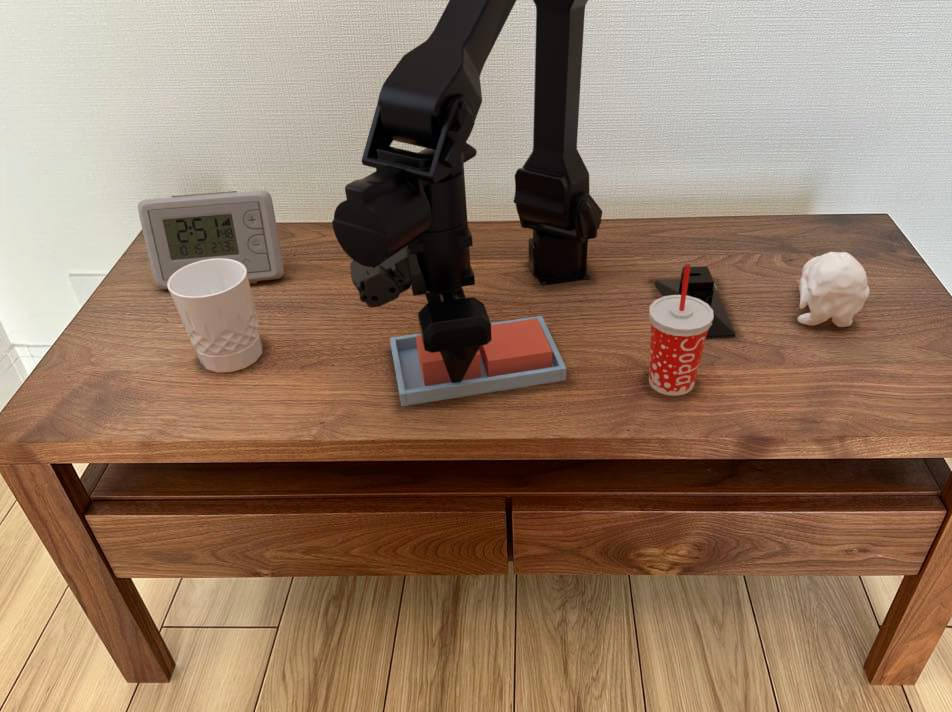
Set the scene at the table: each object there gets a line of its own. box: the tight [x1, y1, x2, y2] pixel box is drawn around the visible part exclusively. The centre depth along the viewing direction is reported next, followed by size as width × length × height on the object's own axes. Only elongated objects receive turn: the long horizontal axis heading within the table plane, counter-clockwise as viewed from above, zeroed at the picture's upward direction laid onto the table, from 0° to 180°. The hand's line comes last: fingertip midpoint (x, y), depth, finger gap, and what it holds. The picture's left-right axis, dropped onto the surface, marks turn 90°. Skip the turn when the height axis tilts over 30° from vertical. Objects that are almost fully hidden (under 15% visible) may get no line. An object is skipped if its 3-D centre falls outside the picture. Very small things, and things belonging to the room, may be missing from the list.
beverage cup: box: [648, 263, 714, 397], centre depth 74 cm, size 6×6×14 cm
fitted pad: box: [479, 319, 552, 377], centre depth 81 cm, size 7×6×2 cm
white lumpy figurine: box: [796, 251, 870, 328], centre depth 86 cm, size 6×8×12 cm
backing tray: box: [389, 315, 568, 407], centre depth 81 cm, size 17×10×2 cm, turn 103°
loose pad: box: [416, 335, 481, 386], centre depth 80 cm, size 6×5×3 cm
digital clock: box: [137, 190, 285, 290], centre depth 95 cm, size 16×9×11 cm, turn 86°
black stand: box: [654, 265, 737, 339], centre depth 88 cm, size 12×7×5 cm, turn 1°
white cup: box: [167, 258, 263, 374], centre depth 81 cm, size 8×8×10 cm
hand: (449, 355), depth 80 cm, fingers open, 9 cm apart
